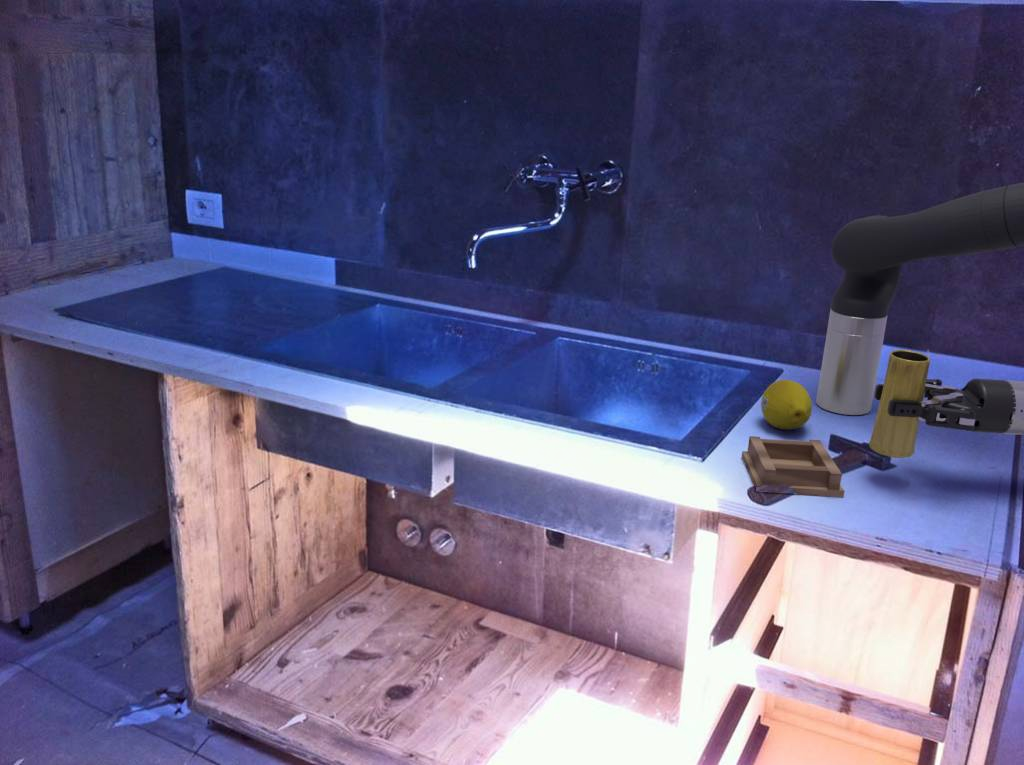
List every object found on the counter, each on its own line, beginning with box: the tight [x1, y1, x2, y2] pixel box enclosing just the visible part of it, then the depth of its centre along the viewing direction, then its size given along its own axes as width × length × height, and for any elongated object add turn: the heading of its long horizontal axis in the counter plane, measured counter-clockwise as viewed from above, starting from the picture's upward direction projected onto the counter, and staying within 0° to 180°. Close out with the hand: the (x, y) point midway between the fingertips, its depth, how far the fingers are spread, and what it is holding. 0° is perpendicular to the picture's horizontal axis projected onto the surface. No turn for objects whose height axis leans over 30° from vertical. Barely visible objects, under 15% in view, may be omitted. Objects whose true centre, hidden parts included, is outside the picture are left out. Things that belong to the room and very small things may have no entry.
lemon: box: [760, 379, 813, 430], centre depth 153 cm, size 11×8×8 cm
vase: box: [868, 349, 931, 459], centre depth 132 cm, size 6×6×14 cm
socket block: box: [741, 435, 845, 498], centre depth 136 cm, size 12×12×4 cm
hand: (882, 399), depth 132 cm, fingers closed on vase, 5 cm apart
